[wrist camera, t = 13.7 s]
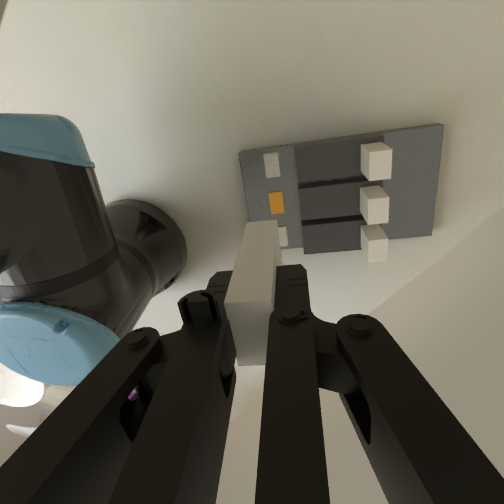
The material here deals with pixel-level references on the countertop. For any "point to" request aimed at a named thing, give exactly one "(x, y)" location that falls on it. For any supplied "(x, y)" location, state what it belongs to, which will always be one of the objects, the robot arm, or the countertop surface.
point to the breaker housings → (341, 194)
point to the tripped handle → (374, 205)
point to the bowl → (19, 389)
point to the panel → (397, 188)
